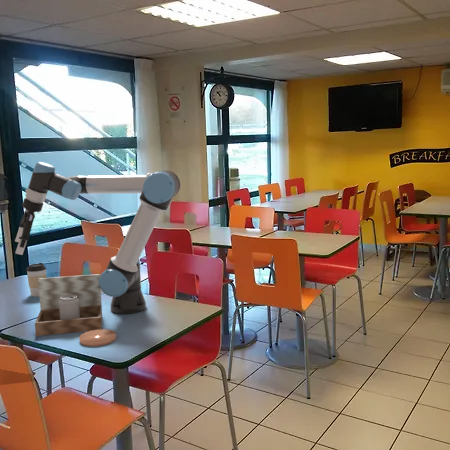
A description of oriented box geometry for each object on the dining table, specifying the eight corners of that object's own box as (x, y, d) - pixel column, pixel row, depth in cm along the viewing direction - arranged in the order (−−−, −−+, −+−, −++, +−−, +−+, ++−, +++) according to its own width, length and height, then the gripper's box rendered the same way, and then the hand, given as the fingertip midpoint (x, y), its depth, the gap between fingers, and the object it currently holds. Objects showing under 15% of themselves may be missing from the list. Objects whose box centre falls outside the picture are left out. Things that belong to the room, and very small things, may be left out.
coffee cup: (36, 298, 238) (34, 267, 236) (24, 295, 243) (21, 265, 241) (52, 293, 246) (49, 263, 244) (40, 290, 251) (37, 261, 248)
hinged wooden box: (102, 316, 210) (99, 274, 208) (101, 329, 194) (98, 284, 191) (41, 321, 205) (38, 278, 203) (35, 336, 189) (31, 289, 186)
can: (84, 324, 200) (82, 295, 199) (69, 330, 194) (67, 300, 192) (71, 321, 204) (69, 292, 203) (56, 327, 198) (54, 297, 196)
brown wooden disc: (116, 331, 192) (115, 327, 192) (116, 344, 179) (116, 340, 179) (80, 334, 189) (80, 331, 189) (78, 347, 177) (78, 343, 176)
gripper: (23, 189, 211) (8, 235, 215) (25, 206, 190) (9, 257, 193) (42, 194, 215) (27, 239, 218) (45, 211, 193) (29, 261, 197)
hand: (18, 247), depth 206 cm, fingers open, 13 cm apart
